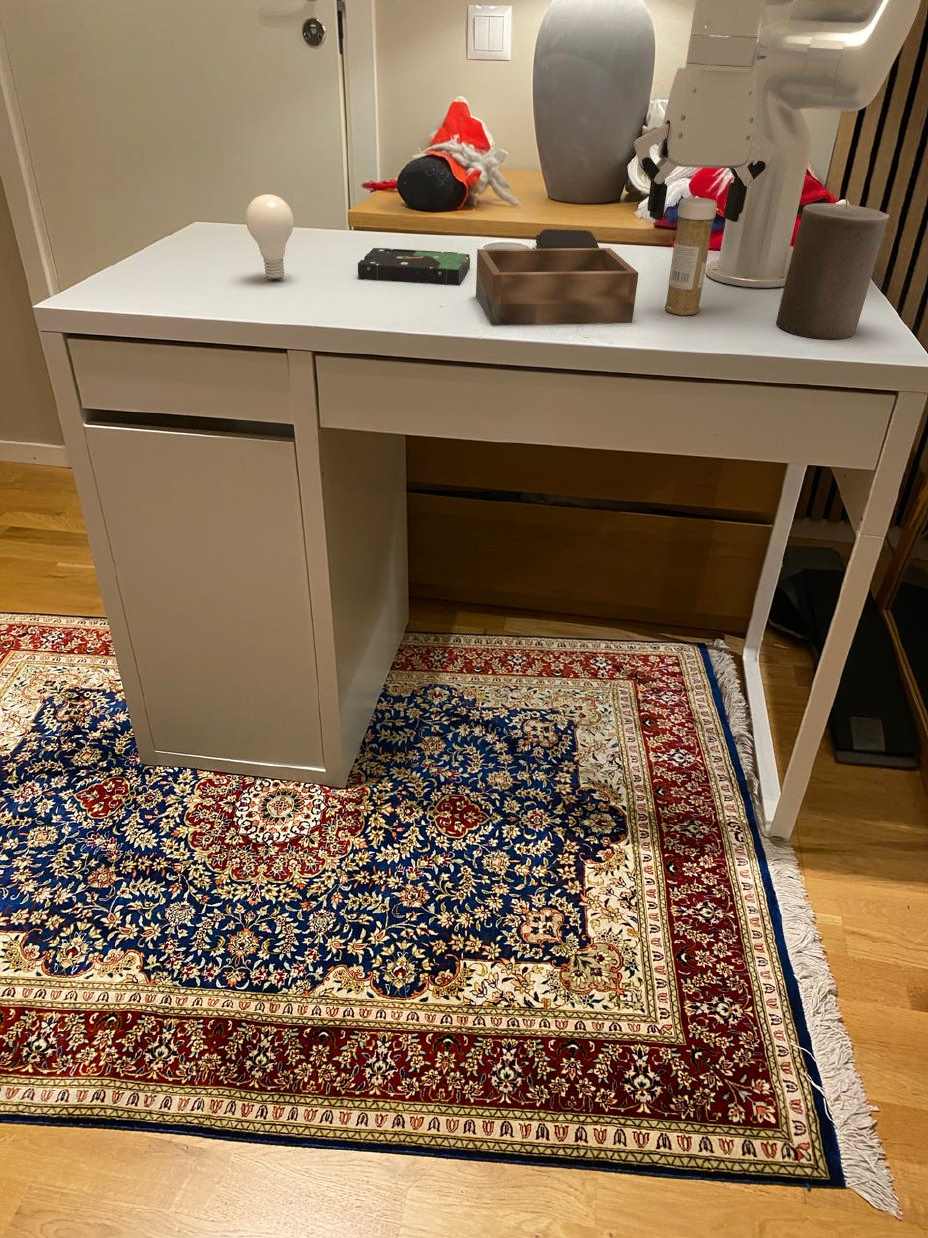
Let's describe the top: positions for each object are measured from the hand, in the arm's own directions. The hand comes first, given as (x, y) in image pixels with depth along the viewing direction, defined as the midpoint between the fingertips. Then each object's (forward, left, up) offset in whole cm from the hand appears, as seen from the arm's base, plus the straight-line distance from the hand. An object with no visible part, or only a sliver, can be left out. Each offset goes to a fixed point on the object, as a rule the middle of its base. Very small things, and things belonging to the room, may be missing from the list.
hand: (693, 218), depth 110 cm
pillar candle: (-16, +7, -12) cm, 21 cm away
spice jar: (-1, -1, -12) cm, 12 cm away
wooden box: (+16, -3, -11) cm, 20 cm away
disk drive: (+33, -21, -12) cm, 41 cm away
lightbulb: (+52, -19, -12) cm, 57 cm away
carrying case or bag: (+8, -32, -12) cm, 35 cm away
